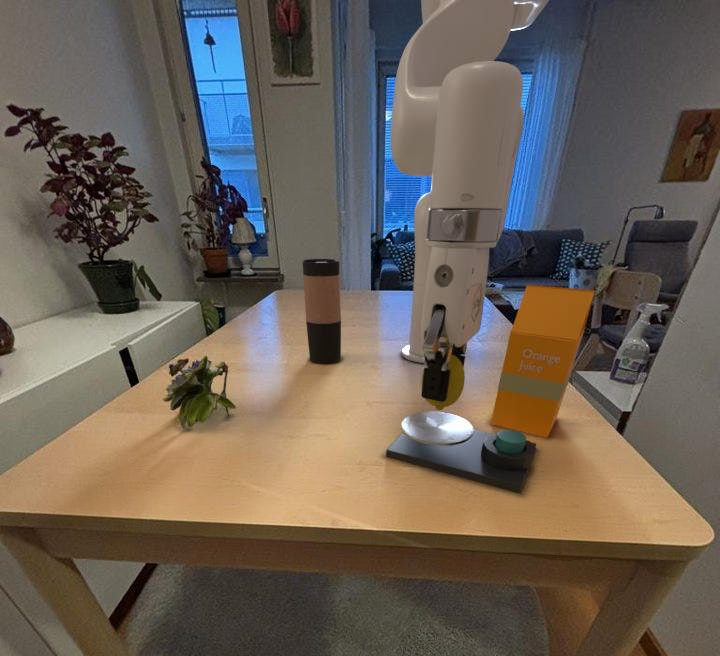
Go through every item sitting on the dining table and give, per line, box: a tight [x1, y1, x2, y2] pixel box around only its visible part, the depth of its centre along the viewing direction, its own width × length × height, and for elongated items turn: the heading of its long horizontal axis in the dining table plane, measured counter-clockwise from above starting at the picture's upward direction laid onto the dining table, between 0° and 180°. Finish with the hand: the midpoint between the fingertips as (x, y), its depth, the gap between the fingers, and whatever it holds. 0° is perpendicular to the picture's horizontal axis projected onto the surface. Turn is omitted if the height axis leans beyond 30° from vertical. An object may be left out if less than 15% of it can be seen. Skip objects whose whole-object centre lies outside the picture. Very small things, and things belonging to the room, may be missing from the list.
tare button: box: [495, 429, 527, 454], centre depth 51 cm, size 4×4×2 cm
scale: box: [385, 429, 537, 494], centre depth 55 cm, size 12×18×3 cm, turn 62°
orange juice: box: [490, 284, 596, 438], centre depth 59 cm, size 8×9×20 cm
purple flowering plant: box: [162, 355, 237, 431], centre depth 64 cm, size 11×11×12 cm
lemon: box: [420, 351, 466, 411], centre depth 52 cm, size 6×6×8 cm
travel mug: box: [302, 258, 342, 365], centre depth 85 cm, size 8×8×20 cm
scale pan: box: [401, 410, 475, 446], centre depth 55 cm, size 10×10×1 cm
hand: (441, 389), depth 52 cm, fingers closed on lemon, 5 cm apart
